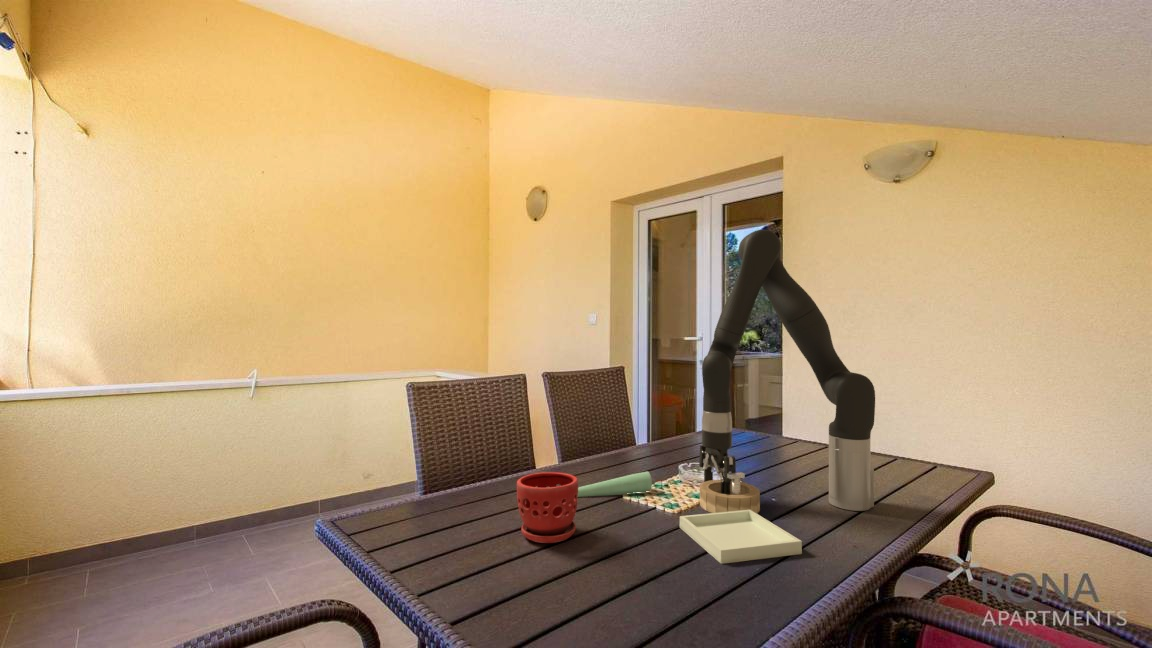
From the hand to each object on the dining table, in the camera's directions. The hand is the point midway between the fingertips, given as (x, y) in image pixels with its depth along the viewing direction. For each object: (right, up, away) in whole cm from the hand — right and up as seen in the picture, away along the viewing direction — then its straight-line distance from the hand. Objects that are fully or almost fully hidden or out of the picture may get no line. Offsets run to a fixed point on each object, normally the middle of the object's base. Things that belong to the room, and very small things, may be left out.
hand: (716, 490), depth 131 cm
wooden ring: (+2, -2, -6) cm, 6 cm away
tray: (-3, -2, -25) cm, 26 cm away
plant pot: (-43, -2, -23) cm, 48 cm away
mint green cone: (-30, -3, +3) cm, 30 cm away
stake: (+2, -2, -9) cm, 9 cm away
